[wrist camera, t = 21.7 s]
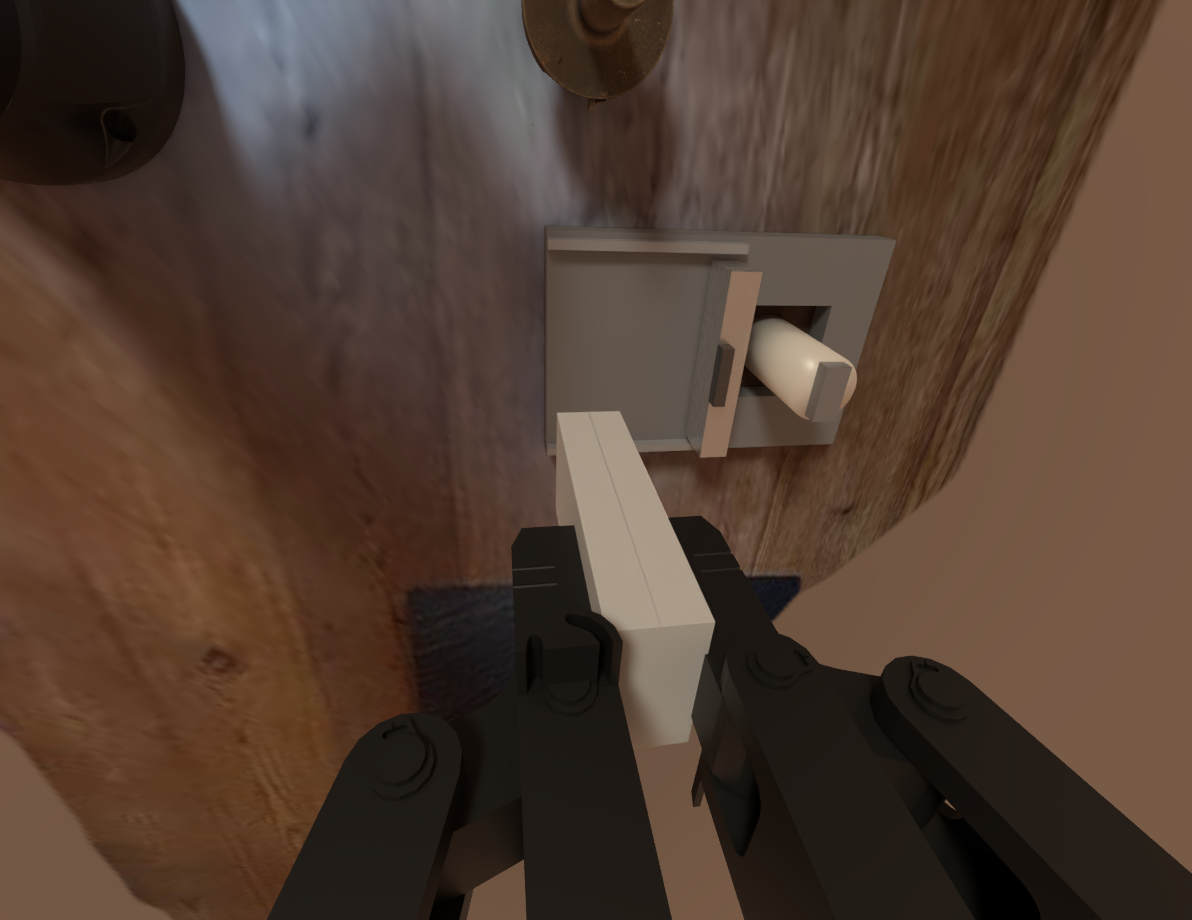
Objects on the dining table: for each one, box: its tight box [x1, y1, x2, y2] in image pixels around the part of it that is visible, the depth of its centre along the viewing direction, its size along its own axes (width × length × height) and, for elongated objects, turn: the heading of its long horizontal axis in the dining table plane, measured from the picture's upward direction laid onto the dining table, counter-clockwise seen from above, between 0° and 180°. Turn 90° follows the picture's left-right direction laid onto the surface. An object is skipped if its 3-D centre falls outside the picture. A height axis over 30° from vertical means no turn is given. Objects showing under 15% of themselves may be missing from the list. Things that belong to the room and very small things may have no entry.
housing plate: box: [544, 226, 896, 456], centre depth 39 cm, size 24×16×3 cm, turn 87°
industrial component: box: [522, 0, 673, 126], centre depth 25 cm, size 9×7×12 cm
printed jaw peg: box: [744, 314, 857, 422], centre depth 37 cm, size 4×4×10 cm
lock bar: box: [685, 260, 763, 458], centre depth 37 cm, size 2×13×4 cm, turn 177°
